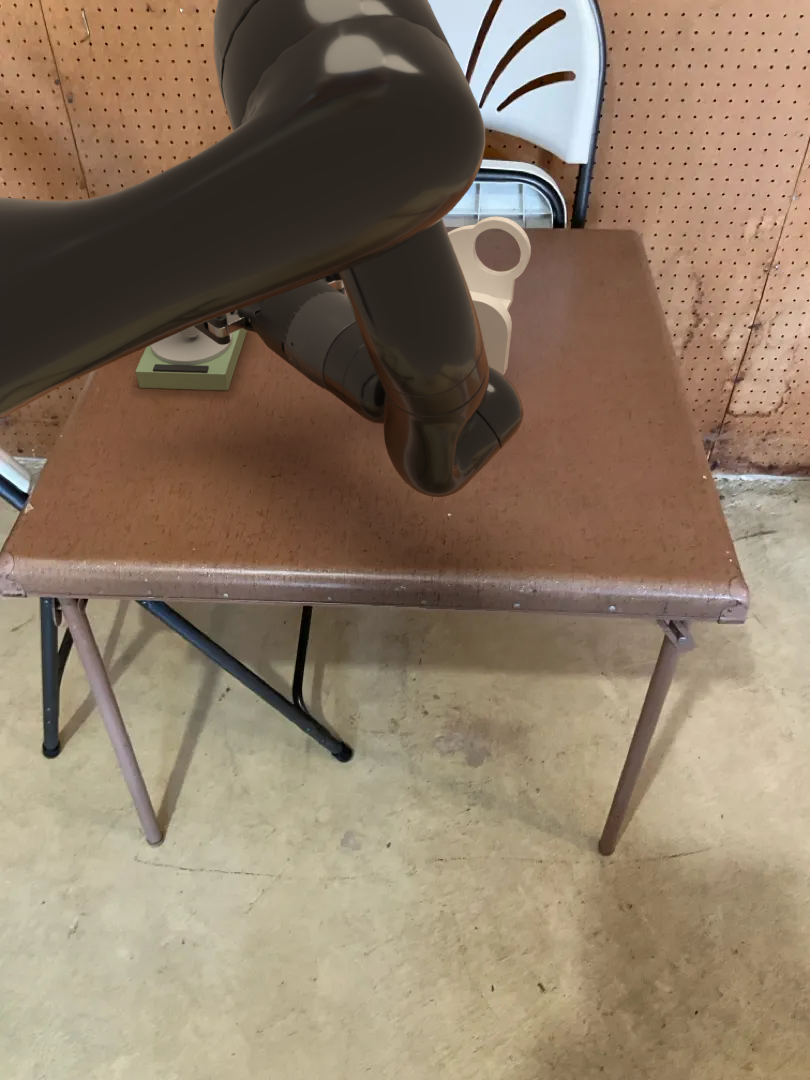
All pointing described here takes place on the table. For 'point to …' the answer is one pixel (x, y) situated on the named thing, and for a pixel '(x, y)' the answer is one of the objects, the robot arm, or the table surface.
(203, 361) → the scale
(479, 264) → the tape dispenser
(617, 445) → the table surface
